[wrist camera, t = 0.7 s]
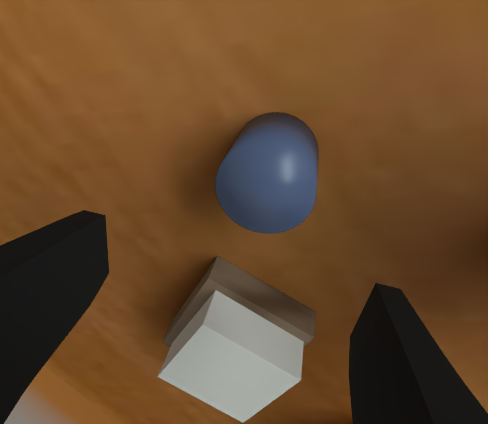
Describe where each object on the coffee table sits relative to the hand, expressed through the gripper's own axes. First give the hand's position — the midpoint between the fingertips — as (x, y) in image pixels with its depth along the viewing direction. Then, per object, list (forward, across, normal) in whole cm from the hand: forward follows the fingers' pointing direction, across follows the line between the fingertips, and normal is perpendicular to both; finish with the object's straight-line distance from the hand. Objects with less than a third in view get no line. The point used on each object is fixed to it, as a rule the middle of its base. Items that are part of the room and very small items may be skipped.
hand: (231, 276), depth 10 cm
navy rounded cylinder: (+9, 0, 0) cm, 9 cm away
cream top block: (+7, 0, +12) cm, 14 cm away
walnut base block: (+10, 0, +12) cm, 15 cm away
